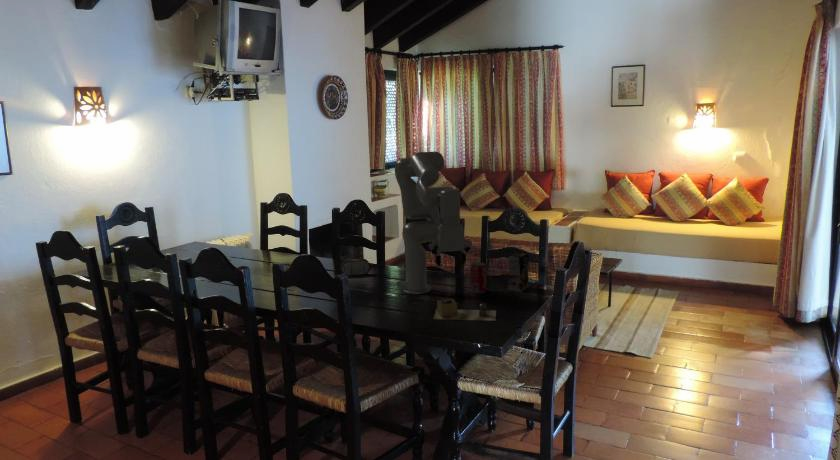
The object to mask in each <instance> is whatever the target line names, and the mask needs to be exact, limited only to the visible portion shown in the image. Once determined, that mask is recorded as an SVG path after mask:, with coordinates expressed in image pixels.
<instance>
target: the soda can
mask: <svg viewBox="0 0 840 460" xmlns="http://www.w3.org/2000/svg"><path fill="white" fill-rule="evenodd" d="M470 265H471V266H470V267H469V268H470V269H469V271H470V273H469V277H470V279H469V281H470V282H469V283H470V285H469V286H470V287H469V288H470V289H469V290H470V292H471V293H473V294H475V293H476V294H477V295H478V294H479V295H481V294H484V293H486V291H487V267H486V266H487V265H486V263H484V262H481V261H479V262H471V264H470Z"/></svg>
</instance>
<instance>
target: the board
mask: <svg viewBox="0 0 840 460" xmlns="http://www.w3.org/2000/svg"><path fill="white" fill-rule="evenodd" d="M443 300H444V304H448V303H450V300H447V299H443ZM432 320H453V321H454V320H457V321H488V322H489V321H491V322H493V321H494V322H495V321H497V310H492V309H491V310H488V309H487V316H479V309H457V316H453V317H442V318H441V316H440V315H439V314H438V313H437V308H436V309H435V313H434V315H433V317H432Z"/></svg>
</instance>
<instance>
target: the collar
mask: <svg viewBox="0 0 840 460" xmlns="http://www.w3.org/2000/svg"><path fill="white" fill-rule="evenodd" d="M444 300H445V299H438V300H436V301H437V302H436V303H437V304H436V305H437V307H436V309H437V313H438V314H439V315H440V316H441V318H442V317H453V316H457V310H458V303H457V302H456V301H455V299H453V298H451V299H450V298H449V299H446V300H450V303H448V304H444Z"/></svg>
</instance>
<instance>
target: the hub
mask: <svg viewBox="0 0 840 460" xmlns="http://www.w3.org/2000/svg"><path fill="white" fill-rule="evenodd" d="M478 310H479V316H487V310H488V309H487V304H486V303H485V302H482V303H479V309H478Z"/></svg>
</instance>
